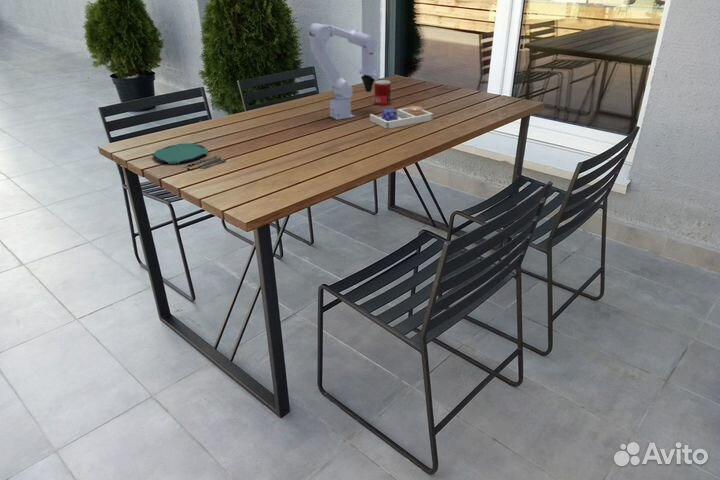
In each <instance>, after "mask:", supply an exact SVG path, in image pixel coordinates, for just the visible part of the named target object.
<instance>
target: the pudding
mask: <svg viewBox="0 0 720 480" xmlns="http://www.w3.org/2000/svg"><path fill="white" fill-rule="evenodd" d="M378 117H379V118H381V119H384V120H386V121H393V120H398V119H403V118H401V117H399V116H397V109H395V108H385V109H383V110H382V113H381V116H378Z"/></svg>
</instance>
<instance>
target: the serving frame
mask: <svg viewBox="0 0 720 480" xmlns="http://www.w3.org/2000/svg"><path fill="white" fill-rule="evenodd" d="M408 112H409V110H408V107H404V108H400V109H399V108H398V109H396V113H397V117H400V118H402V119H398V120H393V121H386V120H384V119H381V118H379V117H380V116H377V115H375V114H372V113H370V114H369V121H370V122H372V123H374V124H375V125H378V126H380V127H381V128H384V129H386V130H390V129H394V128H399V127H403V126H404V127H405V126H409V125H415V124H419V123H421V124H422V123H425V122H431V121H433V120H434V113H432V112H429V111H427V110H425V109H422V110H421V115H420V116H414V115H412V114H409V113H408Z"/></svg>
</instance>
